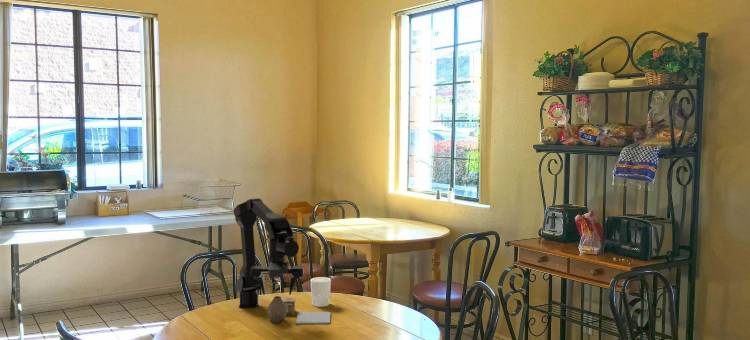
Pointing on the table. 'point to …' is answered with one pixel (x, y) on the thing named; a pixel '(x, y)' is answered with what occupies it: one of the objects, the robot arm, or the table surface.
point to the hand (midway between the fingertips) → (277, 294)
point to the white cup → (320, 291)
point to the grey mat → (313, 318)
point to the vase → (277, 310)
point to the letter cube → (289, 305)
